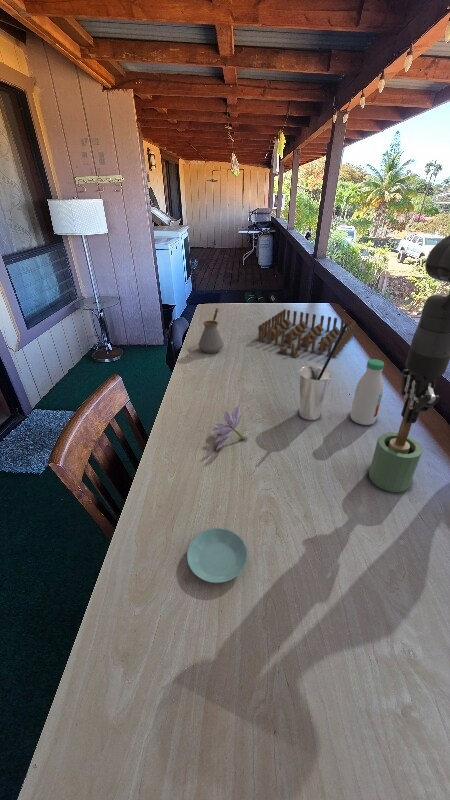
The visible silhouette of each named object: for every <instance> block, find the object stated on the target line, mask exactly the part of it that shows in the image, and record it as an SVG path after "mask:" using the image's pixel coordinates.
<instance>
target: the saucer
mask: <svg viewBox="0 0 450 800" xmlns="http://www.w3.org/2000/svg"><path fill="white" fill-rule="evenodd" d="M186 551H187V553H186V559H187V564H188V567H189V568H190V570H191V572H192V573H193V574H194V575H195V576H196V577H197V578H199V579H200V580H203V581H204V582H207V583H211V584H221V583H226V582H229V581H231V580H233V579H235V578H237V577H238V576H239V575H240V574H241V573H242V571H243V570H244V569H245V567H246V566H247V562H248V549H247V546H246V543H245V542H244V540H243V539H242V537H240V536H239V535H238V534H237V533H236V532H234V531H232V530H230V529H226V528H220V527H214V528H208V529H206V530H204V531H201V532H199V533H198V534H196V536H195V537H194V538H193V539H192V540H191V542H190V543H189V545H188V548H187V550H186Z"/></svg>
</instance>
